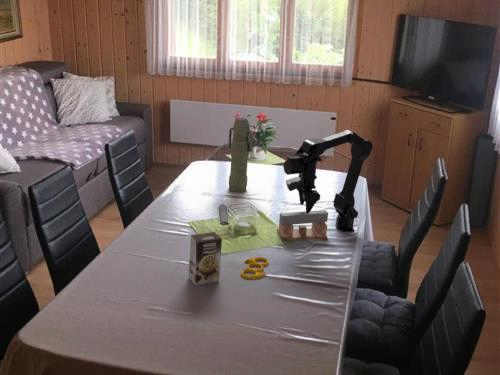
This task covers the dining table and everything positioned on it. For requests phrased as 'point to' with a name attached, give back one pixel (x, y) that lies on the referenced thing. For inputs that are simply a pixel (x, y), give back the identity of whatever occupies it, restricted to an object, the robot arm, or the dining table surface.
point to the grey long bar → (303, 217)
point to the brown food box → (205, 258)
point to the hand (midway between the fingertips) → (304, 208)
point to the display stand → (303, 232)
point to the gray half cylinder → (223, 213)
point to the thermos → (239, 154)
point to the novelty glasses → (256, 271)
